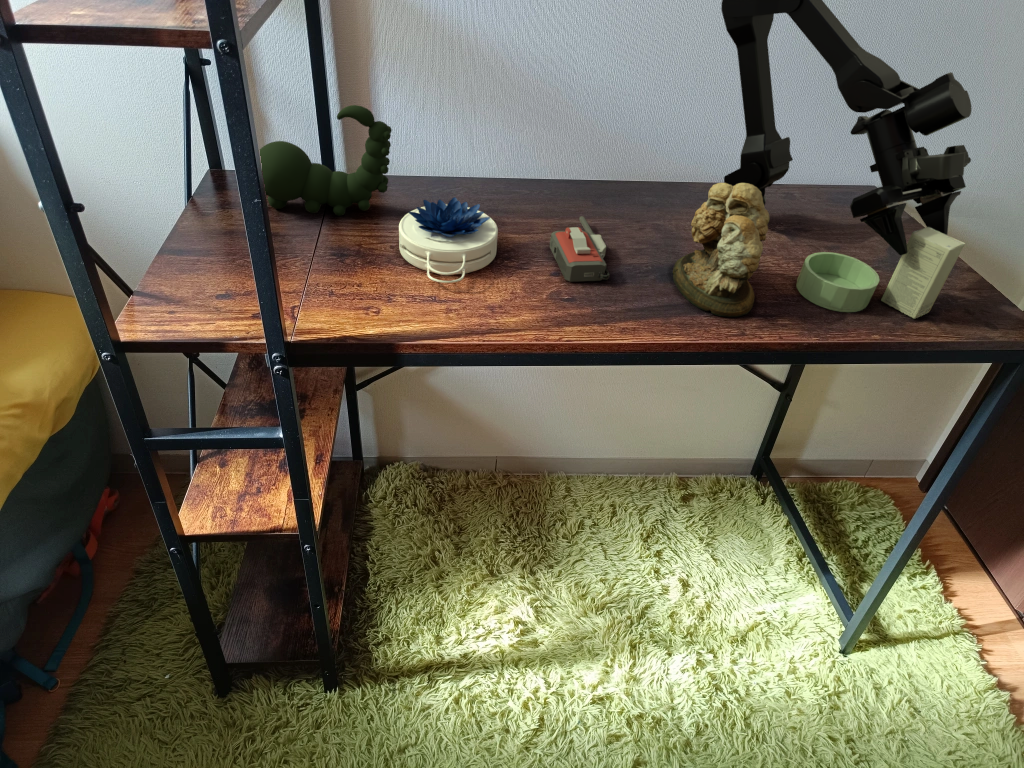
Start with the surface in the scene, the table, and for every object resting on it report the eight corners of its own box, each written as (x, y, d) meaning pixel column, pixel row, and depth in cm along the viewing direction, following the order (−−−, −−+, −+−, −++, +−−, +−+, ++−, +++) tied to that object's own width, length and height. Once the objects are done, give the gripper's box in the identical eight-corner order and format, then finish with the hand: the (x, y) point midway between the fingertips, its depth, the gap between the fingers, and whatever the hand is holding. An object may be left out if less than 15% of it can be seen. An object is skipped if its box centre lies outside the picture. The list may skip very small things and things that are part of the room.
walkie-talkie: (620, 285, 108) (586, 224, 123) (625, 260, 105) (589, 201, 120) (566, 287, 106) (537, 225, 121) (569, 261, 103) (540, 201, 118)
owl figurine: (655, 258, 115) (679, 158, 104) (720, 256, 118) (751, 158, 107) (697, 320, 102) (730, 213, 91) (770, 316, 104) (810, 212, 93)
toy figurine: (387, 207, 125) (242, 189, 121) (394, 100, 113) (234, 77, 109) (384, 232, 118) (230, 214, 114) (390, 121, 106) (219, 97, 102)
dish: (796, 302, 108) (806, 279, 105) (795, 268, 117) (804, 246, 114) (871, 319, 106) (883, 295, 103) (865, 283, 115) (875, 261, 112)
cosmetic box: (929, 313, 109) (968, 244, 101) (913, 320, 107) (951, 250, 99) (894, 293, 113) (928, 225, 105) (877, 300, 111) (912, 231, 103)
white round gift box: (404, 185, 113) (388, 245, 98) (499, 192, 114) (498, 252, 99) (405, 224, 118) (390, 287, 102) (496, 230, 118) (495, 293, 103)
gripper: (902, 132, 94) (934, 242, 93) (985, 119, 101) (1016, 221, 101) (835, 166, 104) (864, 265, 104) (915, 152, 111) (943, 245, 111)
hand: (923, 249), depth 105 cm, fingers open, 9 cm apart
